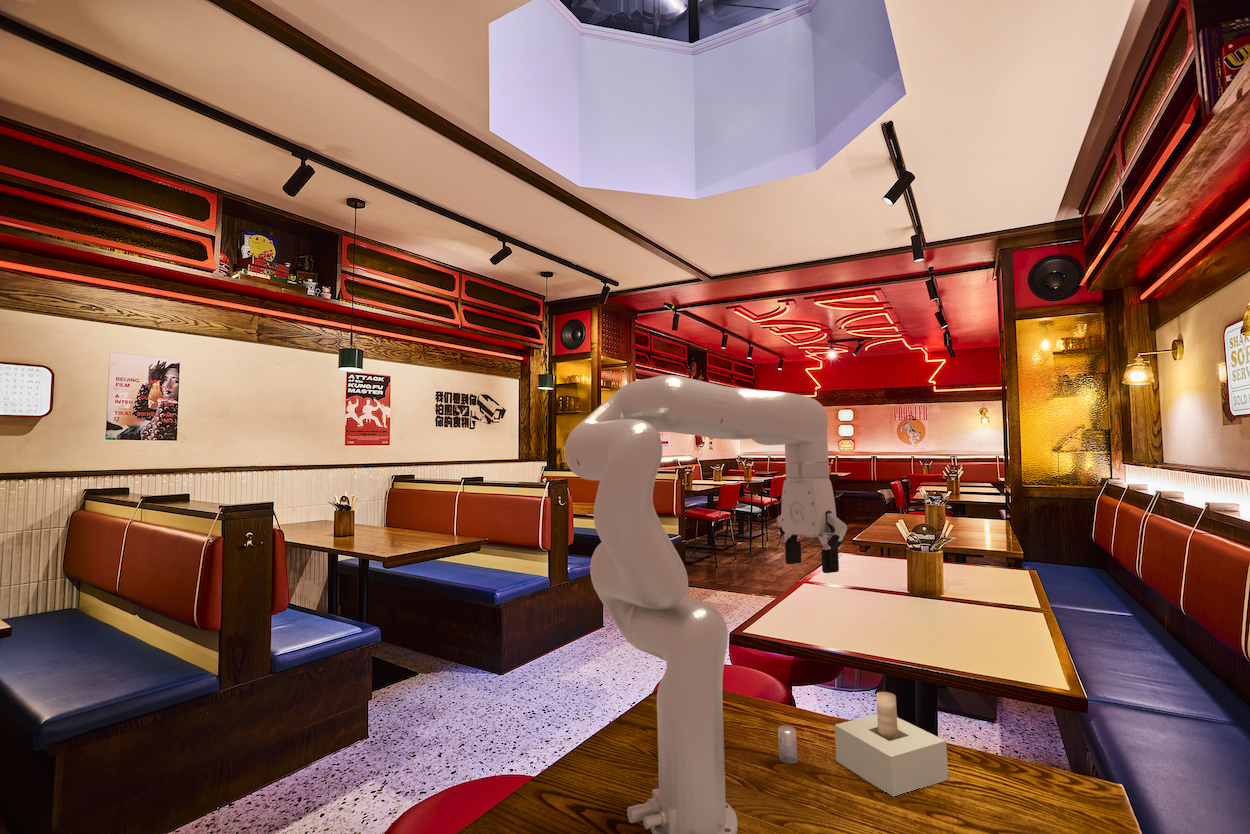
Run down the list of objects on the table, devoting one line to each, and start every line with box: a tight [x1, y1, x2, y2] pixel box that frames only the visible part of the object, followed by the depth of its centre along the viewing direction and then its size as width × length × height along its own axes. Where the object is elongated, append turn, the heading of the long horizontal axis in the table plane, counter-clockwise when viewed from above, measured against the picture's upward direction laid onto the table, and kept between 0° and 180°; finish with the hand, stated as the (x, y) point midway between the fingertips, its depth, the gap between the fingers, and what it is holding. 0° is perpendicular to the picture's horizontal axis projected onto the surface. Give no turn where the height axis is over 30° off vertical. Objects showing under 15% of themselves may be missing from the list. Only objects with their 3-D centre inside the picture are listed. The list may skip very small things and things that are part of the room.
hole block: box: [834, 713, 949, 798], centre depth 96 cm, size 12×12×6 cm
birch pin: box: [875, 691, 898, 741], centre depth 96 cm, size 3×3×12 cm
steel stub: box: [777, 724, 798, 765], centre depth 100 cm, size 3×3×5 cm
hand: (811, 567), depth 104 cm, fingers open, 9 cm apart
